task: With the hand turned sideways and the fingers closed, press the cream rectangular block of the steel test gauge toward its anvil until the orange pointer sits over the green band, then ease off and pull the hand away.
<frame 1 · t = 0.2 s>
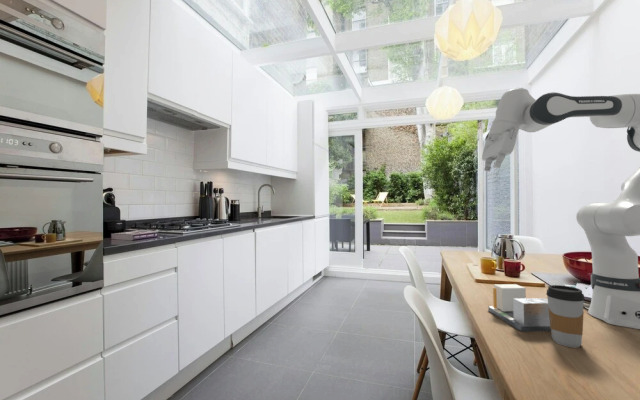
hand: (491, 169, 109), 52 cm above the table, tool tilted 20°, fingers open, 8 cm apart
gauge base: (521, 320, 99), on the table
cream rectangular block: (506, 297, 106), point 6 cm above the table, slide at 0.0 cm
coffee cup: (566, 343, 83), on the table
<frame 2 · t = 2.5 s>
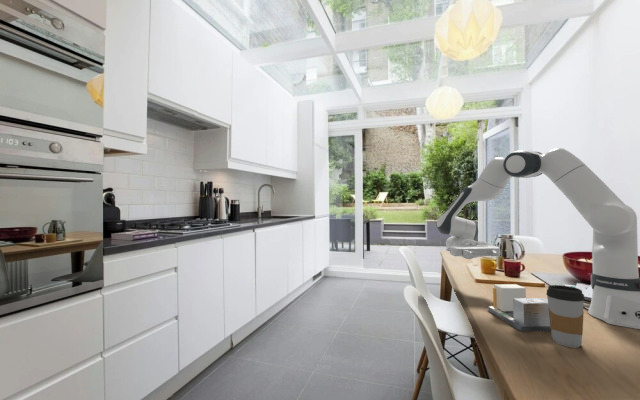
hand: (483, 254, 122), 19 cm above the table, tool horizontal, fingers open, 8 cm apart
nothing on the table moved.
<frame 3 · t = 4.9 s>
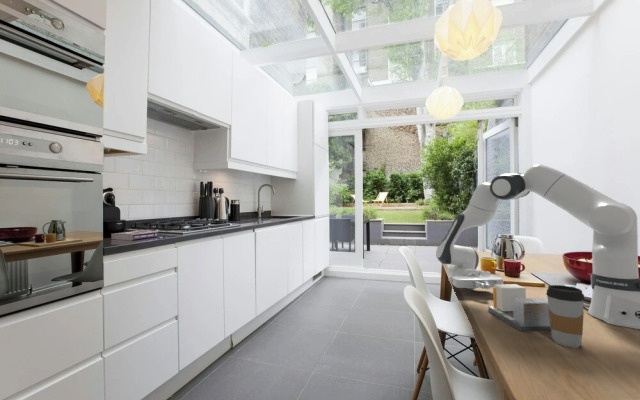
hand: (486, 286, 121), 5 cm above the table, tool horizontal, fingers closed
nothing on the table moved.
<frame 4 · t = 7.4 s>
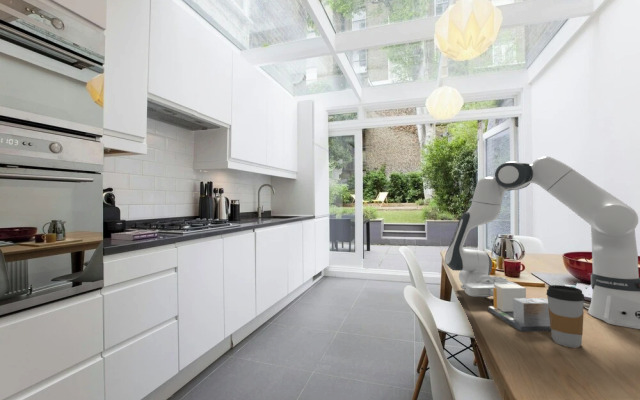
hand: (504, 295, 109), 5 cm above the table, tool horizontal, fingers closed, pressing on cream rectangular block
cream rectangular block: (506, 297, 106), point 6 cm above the table, slide at 0.2 cm, touching gripper
everything else where it was.
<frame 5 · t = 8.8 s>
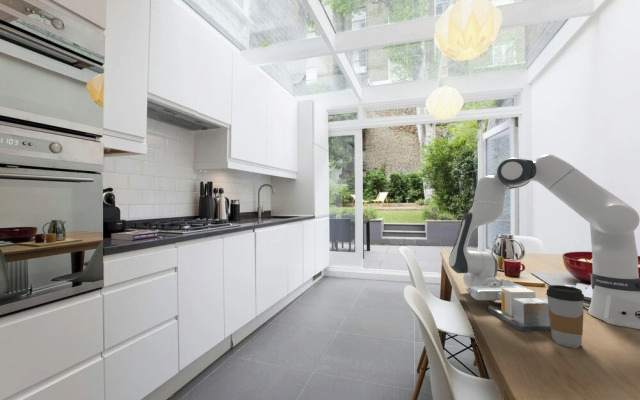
hand: (512, 299, 104), 5 cm above the table, tool horizontal, fingers closed, pressing on cream rectangular block
cream rectangular block: (515, 301, 101), point 6 cm above the table, slide at 4.8 cm, touching gripper
everything else where it was.
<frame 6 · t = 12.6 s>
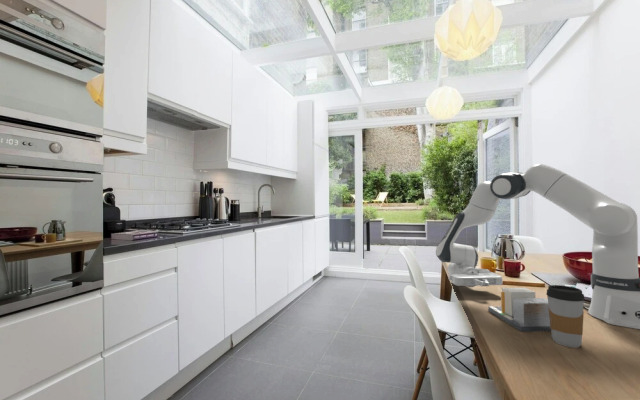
hand: (485, 284, 121), 6 cm above the table, tool horizontal, fingers closed
cream rectangular block: (515, 301, 101), point 6 cm above the table, slide at 4.8 cm
everything else where it was.
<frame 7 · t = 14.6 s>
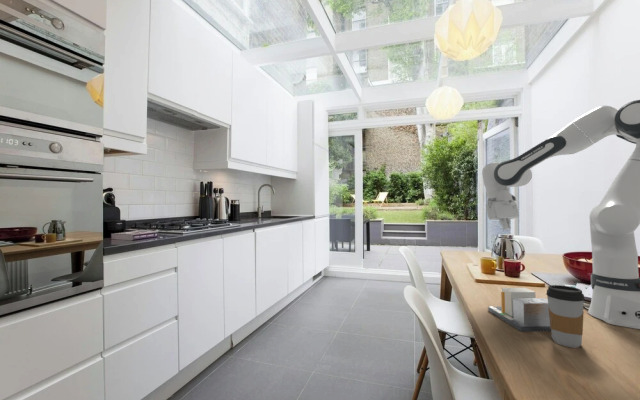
hand: (507, 229, 129), 28 cm above the table, tool pointing down, fingers closed
nothing on the table moved.
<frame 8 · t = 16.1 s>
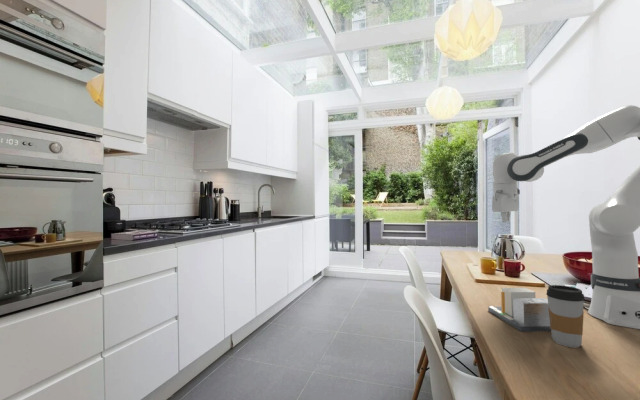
hand: (506, 222, 130), 31 cm above the table, tool pointing down, fingers closed
nothing on the table moved.
at the end: cream rectangular block slide at 4.8 cm; the gripper is holding nothing; coffee cup moved 0.2 cm from its start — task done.
